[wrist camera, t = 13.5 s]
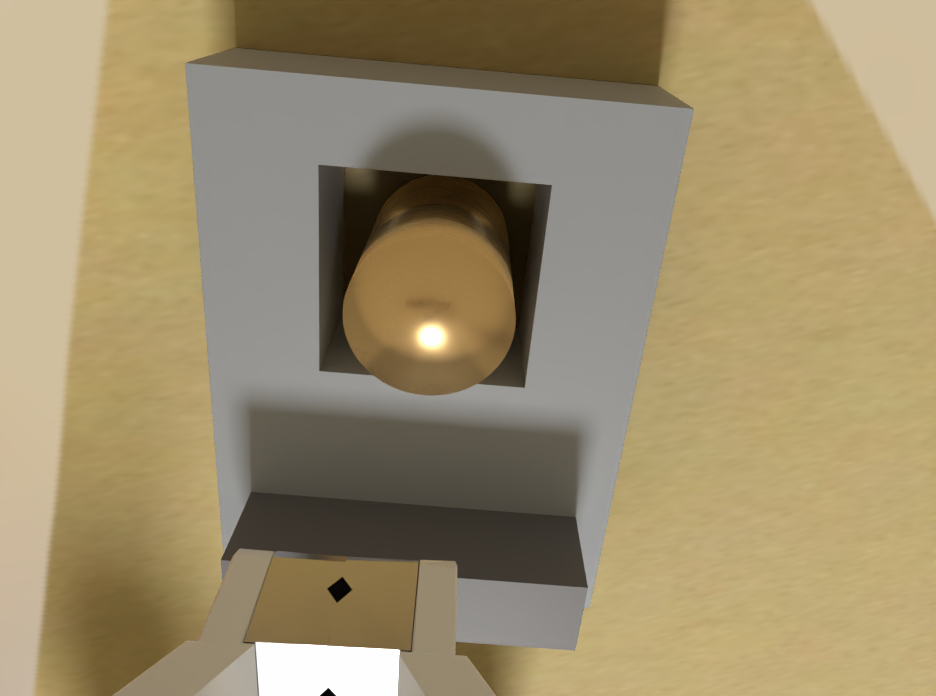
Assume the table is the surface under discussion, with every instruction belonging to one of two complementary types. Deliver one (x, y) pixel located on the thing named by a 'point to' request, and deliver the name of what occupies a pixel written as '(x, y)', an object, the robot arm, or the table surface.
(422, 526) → the frame
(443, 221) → the gold cylinder puck
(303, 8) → the table surface
